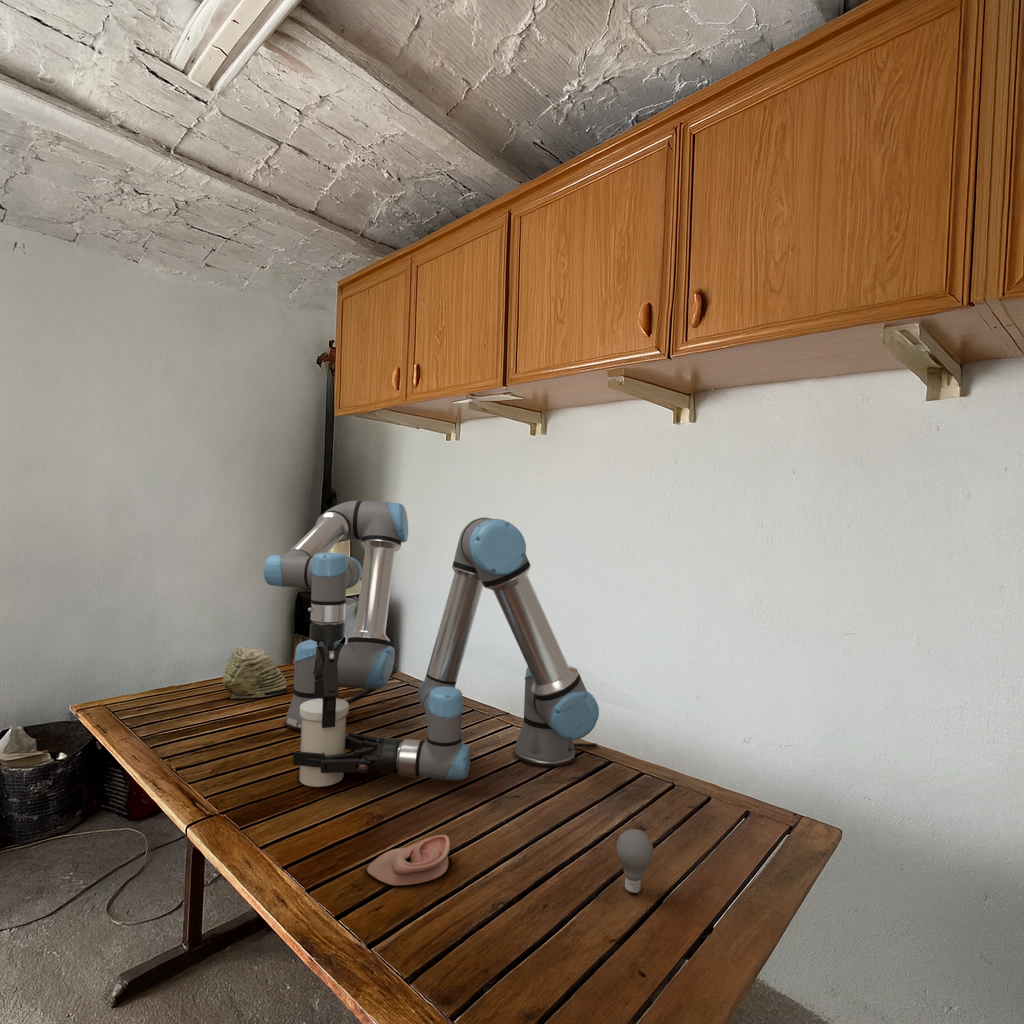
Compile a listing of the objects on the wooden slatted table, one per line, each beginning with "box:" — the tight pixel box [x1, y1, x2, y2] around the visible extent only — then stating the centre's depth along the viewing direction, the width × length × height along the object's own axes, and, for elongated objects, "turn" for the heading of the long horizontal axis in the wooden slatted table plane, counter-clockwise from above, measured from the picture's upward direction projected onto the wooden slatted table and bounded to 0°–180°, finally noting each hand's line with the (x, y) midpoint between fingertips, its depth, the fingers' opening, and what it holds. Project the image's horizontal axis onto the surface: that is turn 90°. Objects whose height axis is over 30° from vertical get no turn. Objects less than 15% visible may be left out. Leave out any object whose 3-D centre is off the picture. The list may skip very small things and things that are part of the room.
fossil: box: [222, 646, 288, 699], centre depth 198 cm, size 9×18×15 cm, turn 132°
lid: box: [300, 698, 350, 721], centre depth 143 cm, size 10×10×2 cm
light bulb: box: [615, 828, 654, 894], centre depth 106 cm, size 6×6×10 cm
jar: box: [298, 715, 347, 788], centre depth 143 cm, size 10×10×16 cm
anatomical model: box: [366, 834, 451, 886], centre depth 109 cm, size 13×4×12 cm
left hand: (323, 717), depth 143 cm, fingers open, 12 cm apart
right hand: (304, 748), depth 143 cm, fingers closed on jar, 10 cm apart
